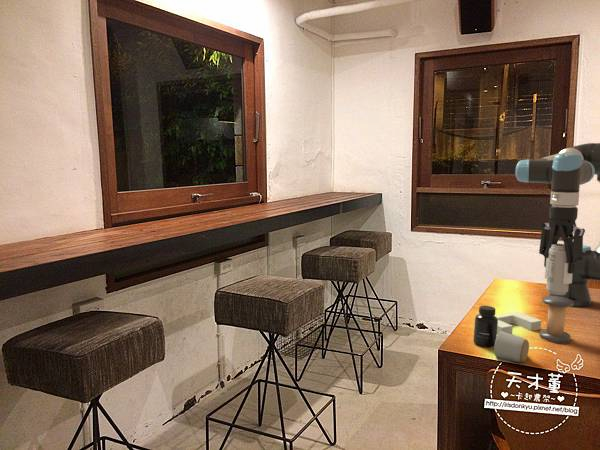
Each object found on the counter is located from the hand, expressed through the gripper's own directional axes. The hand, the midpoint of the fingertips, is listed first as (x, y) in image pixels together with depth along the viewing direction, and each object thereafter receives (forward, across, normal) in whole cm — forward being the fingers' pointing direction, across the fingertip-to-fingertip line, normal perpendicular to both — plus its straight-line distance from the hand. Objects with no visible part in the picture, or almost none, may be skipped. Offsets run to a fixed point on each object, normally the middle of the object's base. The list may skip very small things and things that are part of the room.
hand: (558, 280), depth 152 cm
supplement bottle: (+22, -10, -18) cm, 30 cm away
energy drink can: (+4, 0, 0) cm, 4 cm away
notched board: (+21, -18, +1) cm, 28 cm away
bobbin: (+21, -5, +7) cm, 23 cm away
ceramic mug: (+22, +1, -18) cm, 28 cm away
